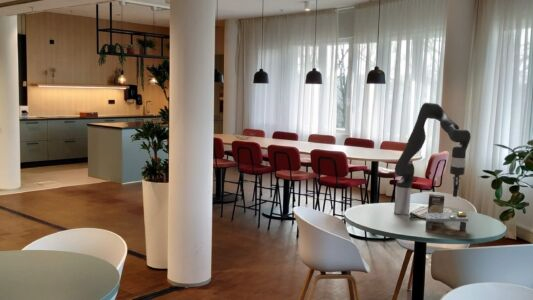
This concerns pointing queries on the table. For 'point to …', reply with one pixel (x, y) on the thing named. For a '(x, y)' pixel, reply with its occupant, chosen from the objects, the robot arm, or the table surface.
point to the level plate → (447, 216)
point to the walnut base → (446, 229)
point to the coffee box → (436, 204)
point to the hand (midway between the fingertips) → (454, 196)
